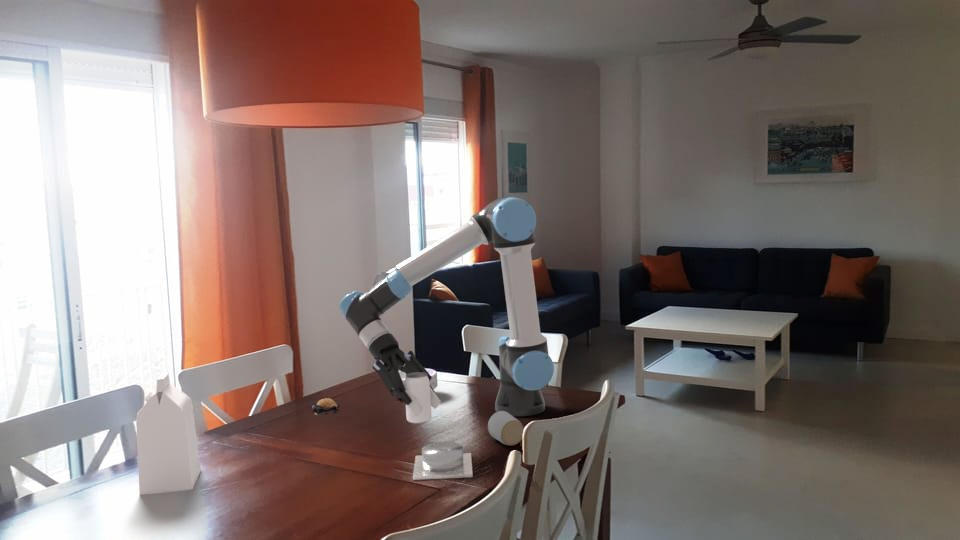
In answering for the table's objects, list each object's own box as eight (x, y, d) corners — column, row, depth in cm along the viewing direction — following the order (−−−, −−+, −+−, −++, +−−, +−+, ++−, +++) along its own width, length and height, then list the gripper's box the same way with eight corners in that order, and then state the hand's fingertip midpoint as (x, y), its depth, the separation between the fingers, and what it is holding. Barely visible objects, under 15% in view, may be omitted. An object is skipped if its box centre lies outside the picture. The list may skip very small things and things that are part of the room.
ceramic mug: (502, 449, 192) (501, 420, 191) (487, 440, 199) (486, 412, 199) (537, 442, 197) (536, 414, 196) (521, 434, 204) (521, 406, 203)
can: (436, 418, 193) (434, 373, 192) (418, 425, 188) (415, 379, 187) (419, 414, 197) (416, 370, 196) (401, 421, 193) (398, 376, 191)
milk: (192, 489, 173) (183, 380, 170) (139, 495, 171) (129, 384, 168) (200, 470, 185) (192, 368, 182) (151, 475, 182) (142, 372, 180)
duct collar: (471, 456, 188) (470, 437, 188) (472, 477, 174) (471, 457, 174) (415, 458, 188) (414, 440, 187) (412, 480, 174) (411, 460, 173)
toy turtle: (311, 407, 238) (310, 396, 238) (337, 404, 240) (337, 393, 240) (312, 417, 228) (312, 405, 228) (340, 413, 230) (339, 402, 230)
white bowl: (382, 398, 244) (381, 375, 243) (413, 388, 256) (412, 365, 255) (416, 405, 235) (415, 381, 234) (447, 394, 247) (446, 370, 246)
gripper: (398, 342, 208) (445, 407, 200) (346, 357, 193) (395, 428, 184) (410, 325, 204) (460, 390, 196) (358, 339, 189) (409, 410, 181)
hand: (428, 408), depth 190 cm, fingers closed on can, 6 cm apart
